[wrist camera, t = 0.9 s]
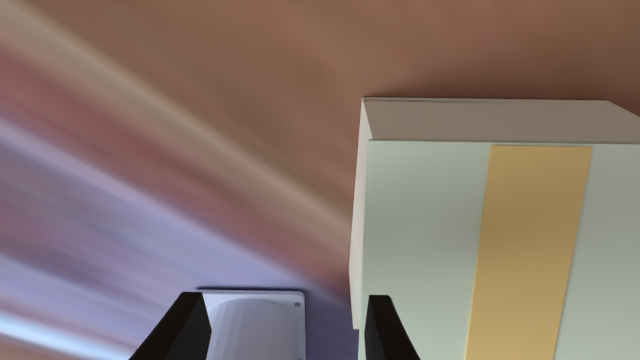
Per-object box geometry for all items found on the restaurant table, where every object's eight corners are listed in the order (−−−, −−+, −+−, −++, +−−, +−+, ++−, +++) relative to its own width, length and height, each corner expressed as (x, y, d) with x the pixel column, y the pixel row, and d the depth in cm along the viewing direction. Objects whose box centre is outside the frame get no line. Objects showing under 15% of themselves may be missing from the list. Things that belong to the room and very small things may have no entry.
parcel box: (526, 273, 24) (564, 333, 20) (348, 270, 24) (353, 330, 20) (607, 100, 17) (687, 142, 13) (362, 97, 17) (372, 137, 13)
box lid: (627, 414, 16) (640, 428, 15) (355, 409, 16) (357, 423, 15) (694, 143, 13) (715, 146, 13) (367, 139, 13) (370, 141, 13)
